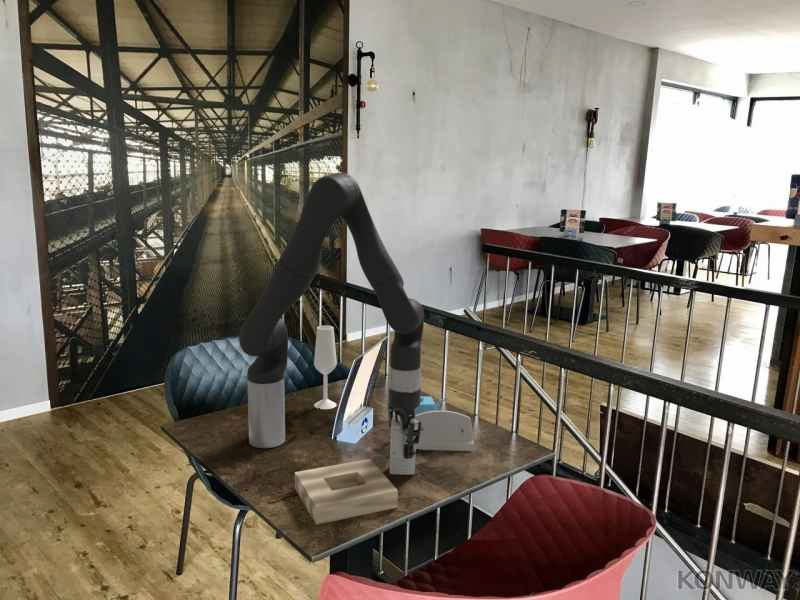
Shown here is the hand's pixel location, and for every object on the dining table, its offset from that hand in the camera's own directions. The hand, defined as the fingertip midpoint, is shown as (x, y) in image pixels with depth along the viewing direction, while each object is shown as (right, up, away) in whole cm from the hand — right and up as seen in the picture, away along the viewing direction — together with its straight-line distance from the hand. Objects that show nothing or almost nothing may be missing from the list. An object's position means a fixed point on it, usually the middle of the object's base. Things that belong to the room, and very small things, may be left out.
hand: (403, 452), depth 156 cm
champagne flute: (-23, +4, +41) cm, 47 cm away
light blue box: (+6, +1, +31) cm, 31 cm away
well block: (-13, -7, -12) cm, 19 cm away
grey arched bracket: (+10, -2, +16) cm, 19 cm away
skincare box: (0, -5, +1) cm, 5 cm away
